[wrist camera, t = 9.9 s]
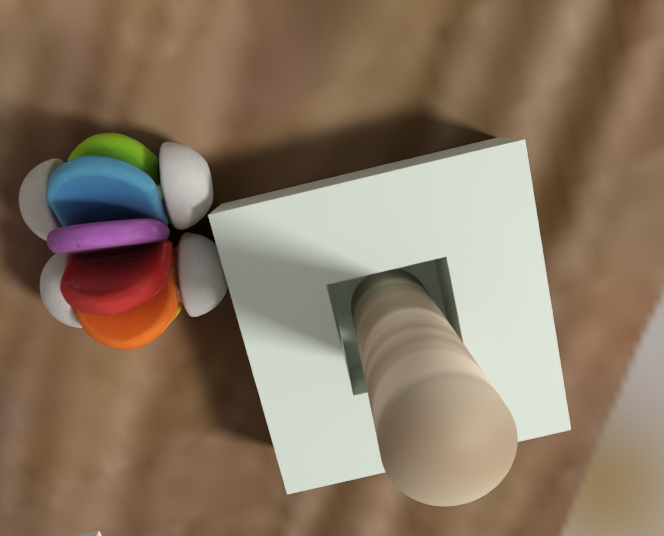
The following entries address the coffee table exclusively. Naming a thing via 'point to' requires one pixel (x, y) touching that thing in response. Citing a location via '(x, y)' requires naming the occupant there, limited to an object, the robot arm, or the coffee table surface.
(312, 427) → the socket block
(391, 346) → the peg
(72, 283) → the rainbow wheeled toy
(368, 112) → the coffee table surface
